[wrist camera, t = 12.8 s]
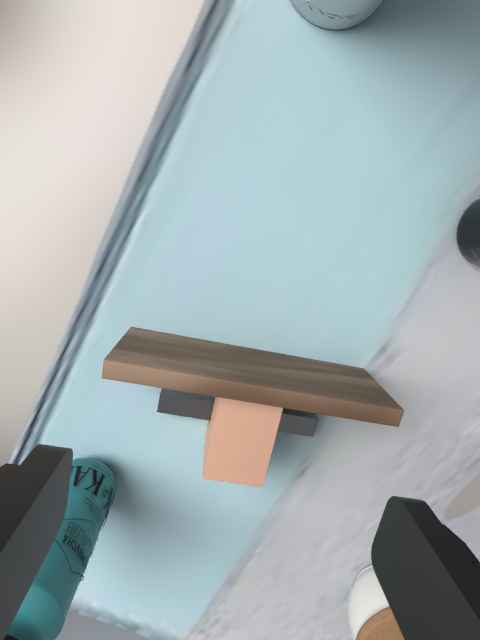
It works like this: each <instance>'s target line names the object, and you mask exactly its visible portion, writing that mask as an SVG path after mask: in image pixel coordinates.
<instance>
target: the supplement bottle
mask: <svg viewBox="0 0 480 640" xmlns="http://www.w3.org/2000/svg"><path fill="white" fill-rule="evenodd" d="M457 243H458V247H459V249H460V251H461V253H462V254H463V256H464V257H465V258H466V259H467V260H469V261H470V262H472V263H474V264H476V265H479V266H480V199H478V200H476V201H475V202H474V203H472V204H471V205H470V206H469V207H468V208H467V210H466V211H465V212H464V214H463V215H462V217H461V219H460V221H459V224H458V228H457Z"/></svg>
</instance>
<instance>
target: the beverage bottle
mask: <svg viewBox="0 0 480 640" xmlns="http://www.w3.org/2000/svg"><path fill="white" fill-rule="evenodd" d="M115 484H116V483H115V478H114V475H113V473H112V471H111V470H110V469H109V467H107V466H106V465H105V464H104V463H102V462H100V461H98V460H95V459H91V458H79V459H75V460H72V467H71V476H70V485H69V494H68V502H67V508H66V512H65V516H64V519H63V522H62V525H61V528H60V530H59V532H58V534H57V536H56V538H55V540H54V542H53V544H52V546H51V548H50V550H49V552H48V554H47V556H46V558H45V560H44V562H43V564H42V566H41V568H40V569H39V571H38V573H37V575H36V577H35V579H34V581H33V583H32V585H31V587H30V589H29V591H28V593H27V595H26V597H25V599H24V601H23V603H22V605H21V607H20V609H19V610H18V612H17V614H16V616H15V618H14V620H13V622H12V624H11V626H10V628H9V630H8V632H7V634H6V636H5V638H4V640H55V639H56V637H57V636H58V634H59V633H60V631H61V629H62V628H63V625H64V621H65V617H66V615H67V612H68V610H69V607H70V605H71V602H72V600H73V597H74V595H75V592H76V590H77V587H78V585H79V583H80V581H82V580H83V579H84V577H83V573H84V572H86V571H85V569H86V566H87V563H88V562H89V561H88V560H89V559H90V556H91V554H93V553H92V550H93V549H94V548H95V547H94V546H95V545H96V544H95V542H96V540H97V537H98V535H99V532H100V530H101V527H102V524H103V522H104V519H105V517H106V519H107V515H108V514H109V513H107V512H108V511H109V510H108V509H109V506H110V504H111V501H112V499H114V493H115ZM112 503H113V501H112ZM111 506H112V504H111ZM106 519H105V520H106ZM104 524H105V523H104ZM98 538H99V537H98ZM97 541H98V540H97ZM84 574H85V573H84ZM82 577H83V579H82V580H81V578H82Z"/></svg>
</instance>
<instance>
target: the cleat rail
mask: <svg viewBox="0 0 480 640" xmlns="http://www.w3.org/2000/svg"><path fill="white" fill-rule="evenodd" d="M214 401H215V397H214V396H207V395H201V394H195V393H189V392H183V391H177V390H171V389H165V388H162V390H161V393H160V398H159V404H158V410H157V412H160V413H167V414H173V415H179V416H186V417H192V418H198V419H205V420H211V416H212V411H213V406H214ZM317 421H318V418H317V416H316V414H315V413H311V412H305V411H299V410H293V409H287V408H283V411H282V414H281V418H280V422H279V426H278V430H277V431H281V432H287V433H294V434H300V435H306V436H313V435H314V432H315V428H316V425H317Z"/></svg>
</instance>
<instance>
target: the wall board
mask: <svg viewBox="0 0 480 640" xmlns="http://www.w3.org/2000/svg"><path fill="white" fill-rule="evenodd" d="M102 378H104V379H110V380H116V381H122V382H128V383H134V384H141V385H147V386H153V387H159V388H165V389H171V390H177V391H183V392H189V393H195V394H201V395H207V396H214V397H220V398H226V399H232V400H238V401H244V402H250V403H256V404H262V405H268V406H274V407H281V408H287V409H293V410H299V411H305V412H311V413H317V414H323V415H329V416H335V417H341V418H348V419H354V420H360V421H366V422H372V423H378V424H384V425H390V426H396V427H399V424H400V421H401V419H402V416H403V413H404V410H403V409H402V408H401V407H400V406H399V405H398V404H397V403H396V402H395V401H394V400H393V399H392V398H391V397H390V396H389V394H388V393H387V392H386V391H385V390H384V389H383V388H382V387H381V386H380V385H379V384H378V383H377V382H376V381H375V380H374V379H373V378H372V377H371V376H370V375H369V374H368V373H367V372H366V371H365V370H364V369H363V368H357V367H351V366H346V365H340V364H335V363H329V362H324V361H318V360H312V359H307V358H301V357H296V356H290V355H285V354H279V353H273V352H268V351H262V350H257V349H251V348H246V347H240V346H234V345H229V344H223V343H218V342H212V341H207V340H201V339H195V338H190V337H184V336H179V335H173V334H168V333H162V332H156V331H151V330H145V329H140V328H134V327H130V329H129V330H128V331H127V332H126V334H125V335H124V336H123V337H122V338H121V340H120V341H119V342H118V343H117V344H116V346H115V347H114V348H113V349H112V351H111V352H110V353H109V354H108V355H107V357H106V358H105V359H104V364H103V372H102Z"/></svg>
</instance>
